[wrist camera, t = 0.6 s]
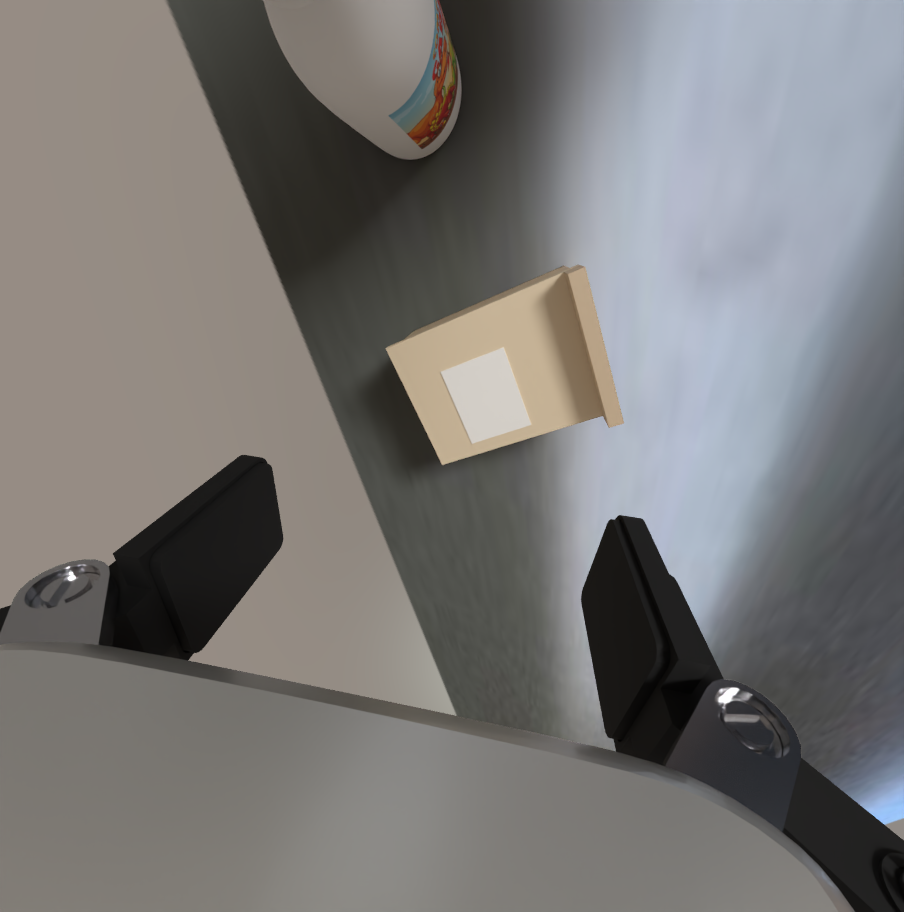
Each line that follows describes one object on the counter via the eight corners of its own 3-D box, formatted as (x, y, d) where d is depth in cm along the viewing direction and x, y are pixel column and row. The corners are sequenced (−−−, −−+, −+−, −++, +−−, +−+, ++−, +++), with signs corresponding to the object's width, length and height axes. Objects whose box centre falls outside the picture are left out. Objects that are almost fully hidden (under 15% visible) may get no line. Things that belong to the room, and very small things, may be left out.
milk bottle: (400, 185, 31) (251, 105, 13) (338, 79, 28) (52, -190, 11) (483, 111, 28) (431, -112, 10) (422, -14, 25) (218, -587, 8)
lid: (577, 264, 25) (585, 266, 23) (614, 407, 29) (623, 423, 27) (388, 346, 30) (376, 355, 27) (443, 460, 34) (437, 478, 31)
